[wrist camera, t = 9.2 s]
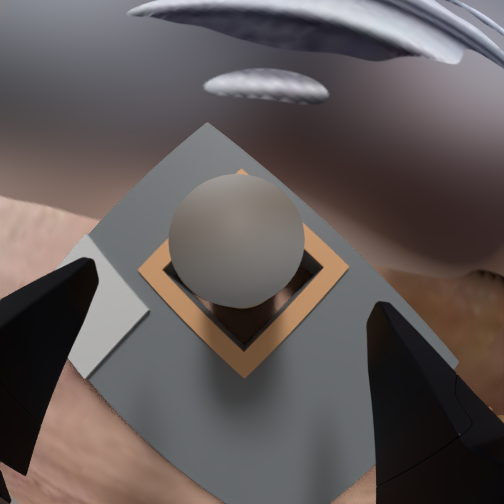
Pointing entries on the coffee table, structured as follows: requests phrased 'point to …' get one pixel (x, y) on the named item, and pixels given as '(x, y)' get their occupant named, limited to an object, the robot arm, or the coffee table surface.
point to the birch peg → (236, 240)
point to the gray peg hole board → (234, 347)
